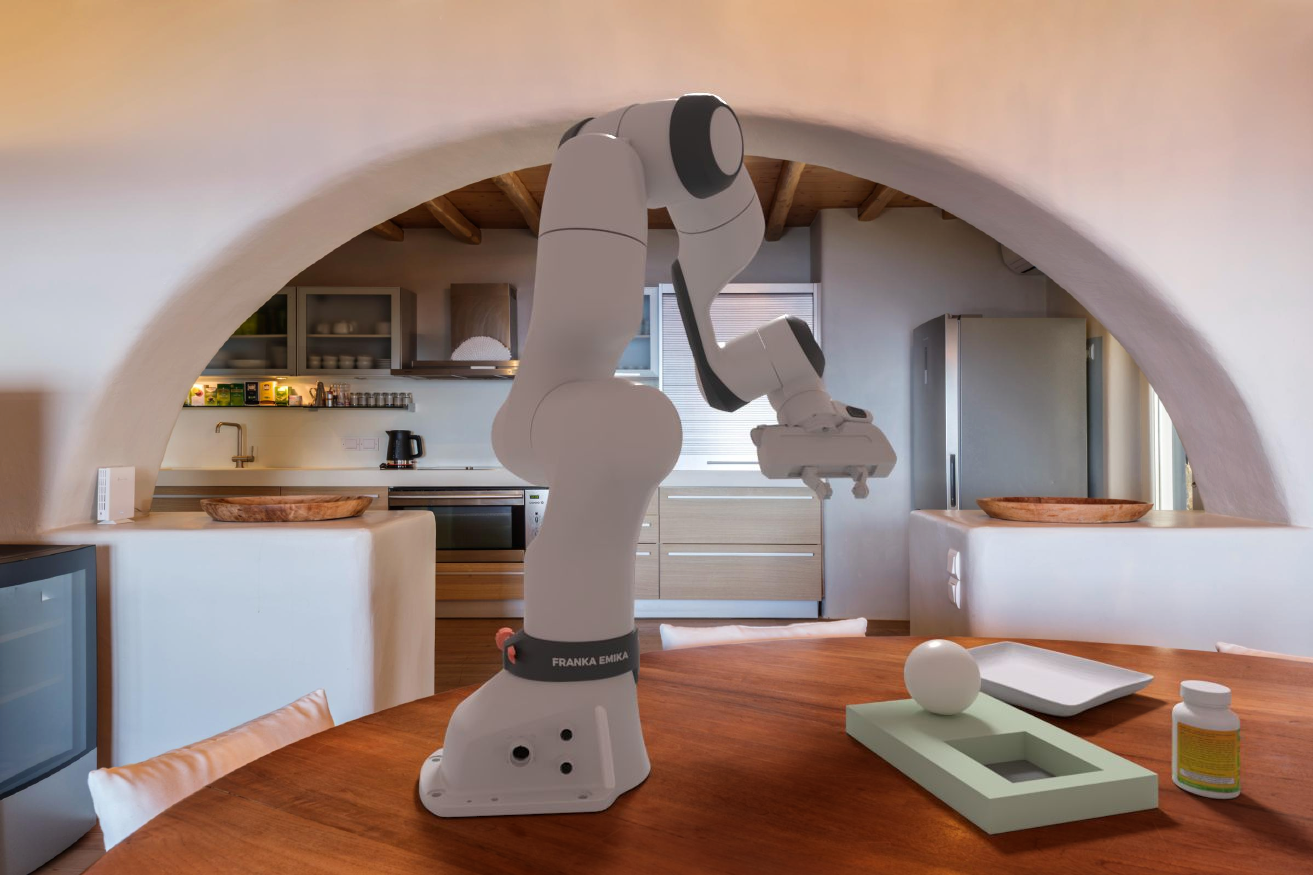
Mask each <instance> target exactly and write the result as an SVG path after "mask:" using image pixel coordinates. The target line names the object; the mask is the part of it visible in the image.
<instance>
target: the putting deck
mask: <svg viewBox="0 0 1313 875" xmlns="http://www.w3.org/2000/svg"><path fill="white" fill-rule="evenodd" d="M845 732H846V733H847V734H848V735H850V737H853V738H854V739H855V740H857V741H858V742H859V743H861V744H862V745H864V746H865V747H866V748H867V749H869V750H871V752H873V753H874V754H876V755H878V756H879V757H881V758H882V759H883V760H884V761H886V762H888V763H889V764H890V765H891V766H893V767H895V768H896V769H898V770H899V771H900V772H901V773H903V774H904V775H905V776H907V777H909V778H910V779H911V780H913V781H914V782H916V783H917V784H919V785H920V786H921V787H922V788H924V789H925V790H926V791H927V792H929V793H930V794H932V795H933V796H935V797H936V798H938V799H940V800H941V801H942V802H943V803H945V804H946V805H948V806H949V807H951V808H952V809H953V810H955V811H956V812H957V813H958V814H960V815H962V816H963V817H964V818H965V819H968V820H969V821H970V822H971V823H973V824H974V825H976V826H977V827H979V828H980V829H981V830H983V831H984V832H986V834H988V835H995V834H996V835H997V834H1002V833H1007V832H1014V831H1020V830H1025V829H1026V830H1027V829H1033V828H1038V827H1039V828H1040V827H1046V826H1051V825H1052V826H1053V825H1057V824H1063V823H1070V822H1075V821H1084V820H1088V819H1089V820H1090V819H1094V818H1095V819H1096V818H1101V817H1106V816H1107V817H1108V816H1113V815H1119V814H1126V813H1132V812H1140V811H1144V810H1151V809H1157V808H1159V773H1156V772H1154V771H1153V770H1150V769H1148V768H1145V767H1143V766H1142V765H1139V764H1138V763H1135V762H1132V761H1130V760H1128V759H1127V758H1123V757H1122V756H1120V755H1119V754H1116V753H1113V752H1111V751H1109V750H1106V749H1104V748H1103V747H1100V746H1098V745H1096V744H1094V743H1092V742H1090V741H1087V740H1085V739H1083V738H1081V737H1079V736H1077V735H1074V734H1072V733H1070V732H1068V731H1066V730H1064V729H1062V728H1059V727H1057V726H1055V725H1053V724H1051V723H1049V722H1046V721H1045V720H1042V719H1040V718H1038V717H1035V716H1034V715H1032V714H1029V713H1028V712H1026V711H1023V710H1020V709H1019V708H1016V707H1014V706H1012V705H1011V704H1009V703H1007V702H1004V701H1001V700H998V699H995V698H993V697H991V696H989V695H987V694H984V693H982V692H979V694H978V696H977V698H976V700H975V701H974V702H973V704H972V705H971V706H970V707H968V708H967V709H966V710H964V711H962V712H960V713H957V714H953V715H940V714H935V713H932V712H930V711H928V710H926V709H924V708H923V707H921V706H920V705H919V704H918V703H916V701H915V700H914V699H913V698H906V699H898V700H887V701H886V700H885V701H878V702H868V703H858V704H848V705H847V704H846V705H845Z"/></svg>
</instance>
